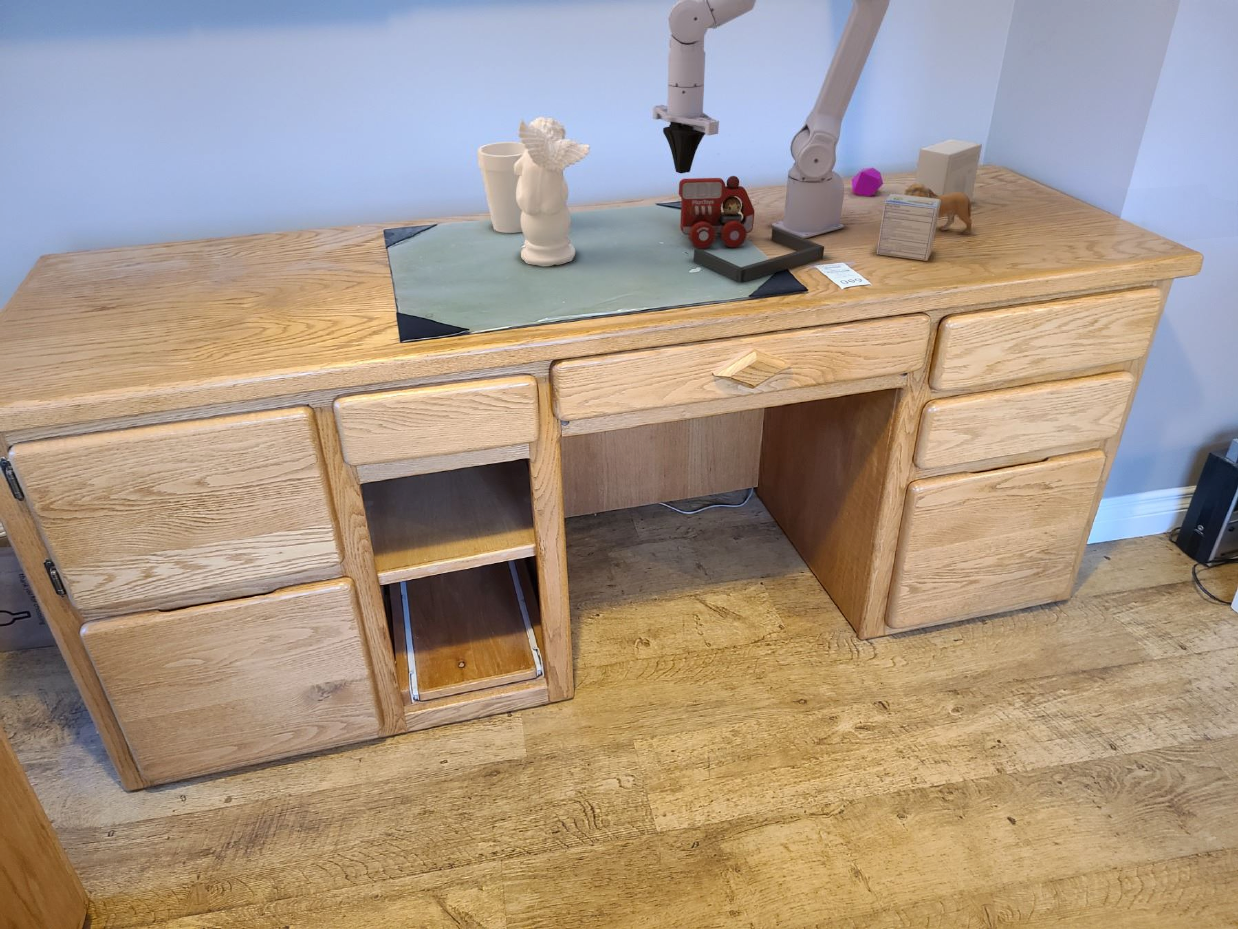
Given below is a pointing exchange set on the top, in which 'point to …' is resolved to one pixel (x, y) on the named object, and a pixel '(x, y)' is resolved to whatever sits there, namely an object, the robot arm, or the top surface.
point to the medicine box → (908, 226)
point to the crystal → (867, 182)
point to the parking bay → (803, 255)
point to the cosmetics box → (949, 167)
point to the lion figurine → (947, 205)
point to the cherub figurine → (545, 191)
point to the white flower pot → (501, 183)
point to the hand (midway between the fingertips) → (682, 171)
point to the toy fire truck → (715, 211)
